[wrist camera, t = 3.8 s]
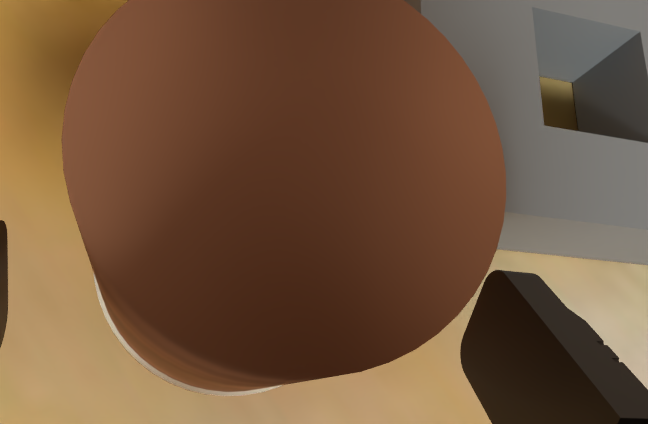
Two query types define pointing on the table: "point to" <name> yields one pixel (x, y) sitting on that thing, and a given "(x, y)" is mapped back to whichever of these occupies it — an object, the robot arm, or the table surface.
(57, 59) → the table surface
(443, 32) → the board
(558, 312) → the robot arm
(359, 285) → the peg
